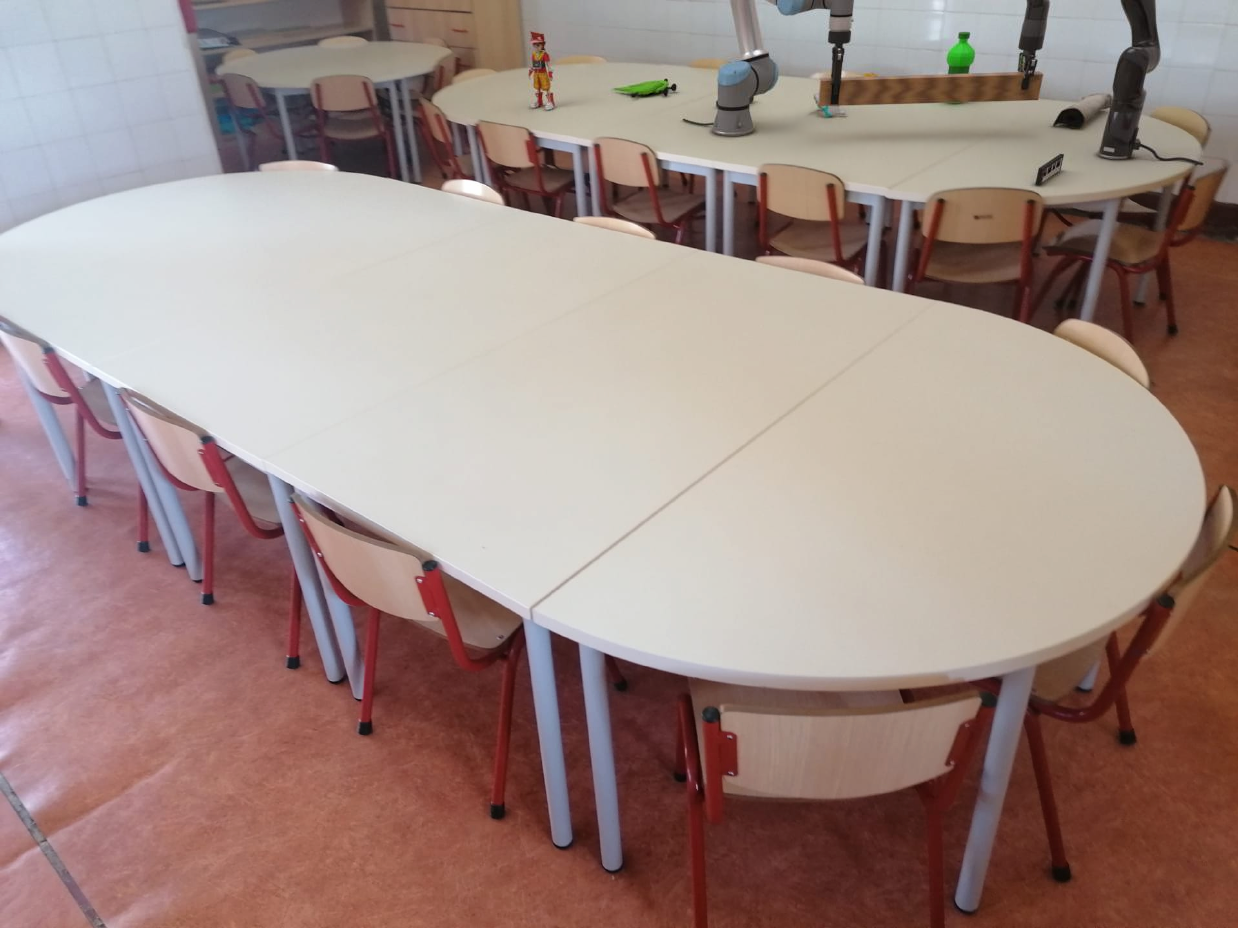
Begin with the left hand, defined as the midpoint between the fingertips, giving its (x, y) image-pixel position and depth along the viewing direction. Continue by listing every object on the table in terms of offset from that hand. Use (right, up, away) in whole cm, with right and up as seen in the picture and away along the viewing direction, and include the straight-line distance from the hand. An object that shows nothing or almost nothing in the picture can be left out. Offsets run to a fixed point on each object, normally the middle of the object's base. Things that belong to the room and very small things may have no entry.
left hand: (833, 102), depth 316 cm
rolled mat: (+93, -2, +10) cm, 93 cm away
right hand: (+63, +1, -9) cm, 63 cm away
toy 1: (-109, +24, +67) cm, 130 cm away
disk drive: (-28, +20, +53) cm, 63 cm away
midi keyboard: (+56, -40, -42) cm, 80 cm away
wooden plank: (+31, -1, -3) cm, 32 cm away
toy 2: (-66, +37, +81) cm, 111 cm away
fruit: (+29, +29, +60) cm, 72 cm away
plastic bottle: (+57, +15, +38) cm, 70 cm away
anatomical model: (+6, +10, +35) cm, 36 cm away
